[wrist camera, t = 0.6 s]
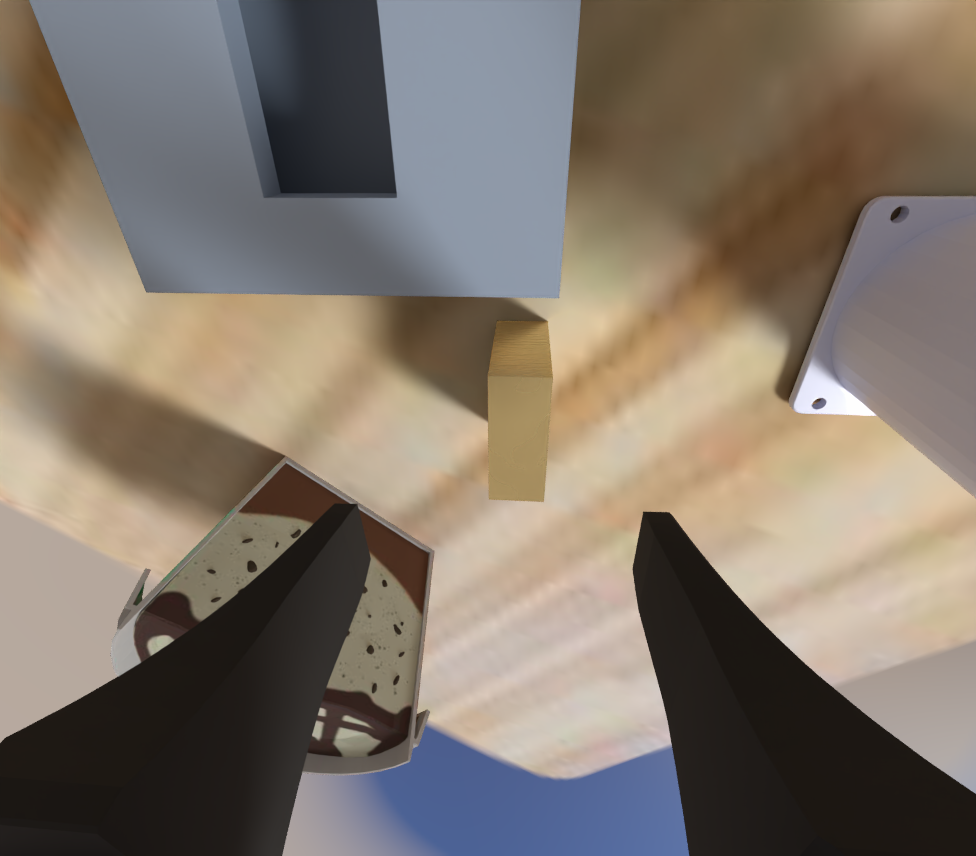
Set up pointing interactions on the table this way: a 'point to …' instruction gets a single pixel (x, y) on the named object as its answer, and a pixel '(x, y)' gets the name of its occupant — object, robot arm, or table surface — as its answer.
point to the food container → (369, 642)
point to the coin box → (328, 140)
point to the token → (519, 410)
